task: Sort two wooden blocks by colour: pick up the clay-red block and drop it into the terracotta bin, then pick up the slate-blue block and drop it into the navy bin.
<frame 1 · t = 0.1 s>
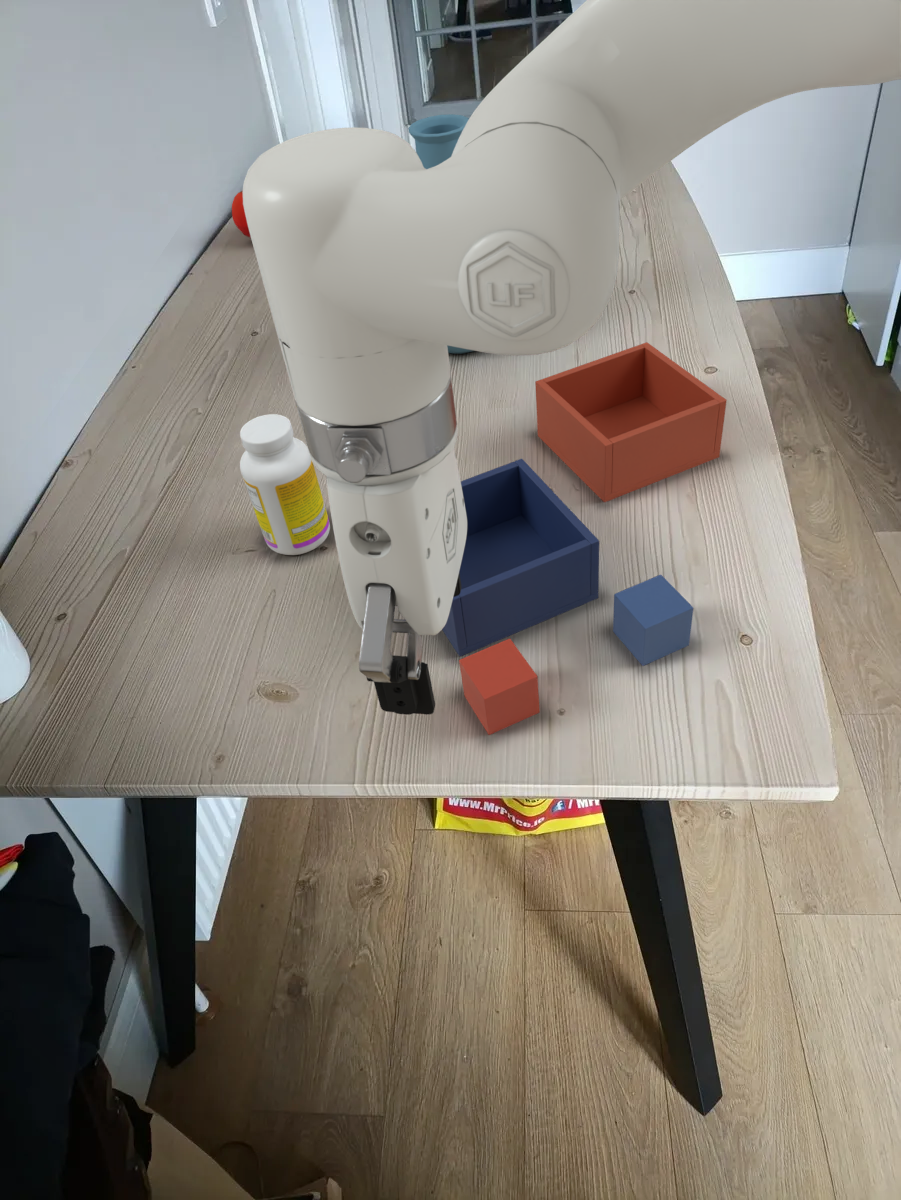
hand: (424, 647, 55), 15 cm above the table, tool pointing down, fingers open, 9 cm apart
red bin: (625, 446, 92), on the table
blue bin: (495, 580, 80), on the table
mug: (550, 174, 149), on the table
tomato: (270, 237, 143), on the table
red block: (501, 704, 70), on the table
vase: (462, 335, 113), on the table
blue block: (650, 638, 73), on the table
supplement bottle: (299, 537, 88), on the table
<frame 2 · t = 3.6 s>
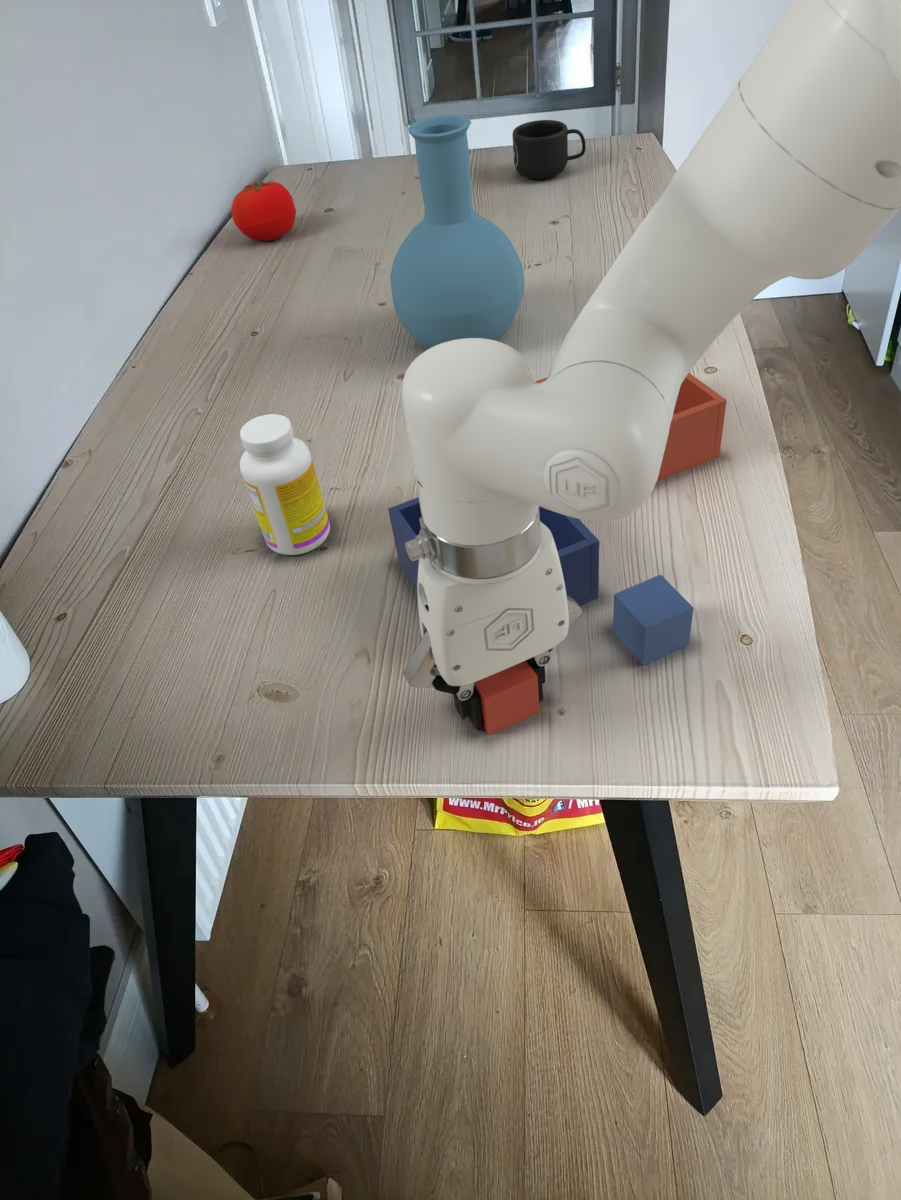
hand: (501, 701, 70), 0 cm above the table, tool pointing down, fingers closed on red block, 4 cm apart
red block: (501, 704, 70), on the table, touching gripper
everything else where it was.
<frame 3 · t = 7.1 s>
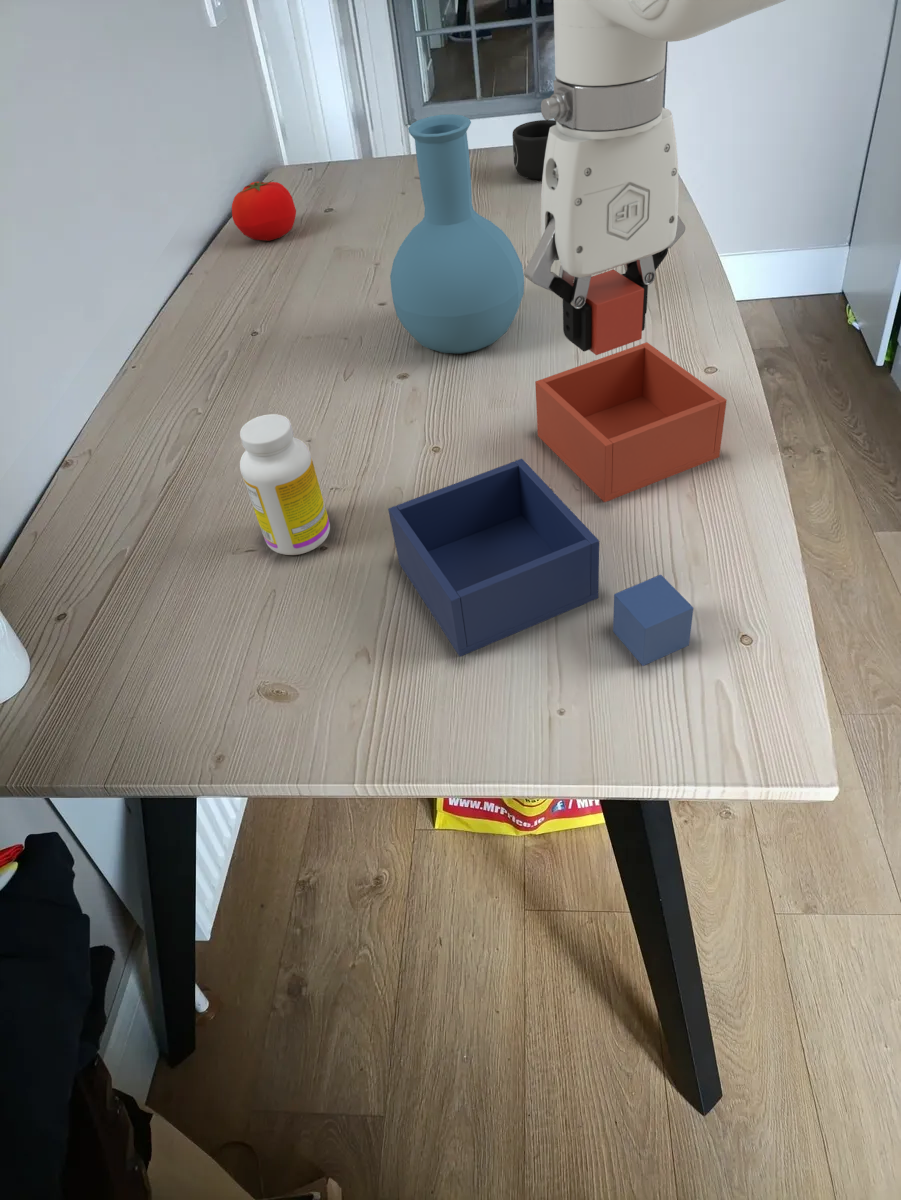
hand: (604, 332, 75), 18 cm above the table, tool pointing down, fingers closed on red block, 4 cm apart
red block: (604, 336, 75), point 17 cm above the table, touching gripper
everything else where it was.
when the fingers open (4 cm above the table, at t = 10.9 s): red block drops 3 cm, resting on red bin.
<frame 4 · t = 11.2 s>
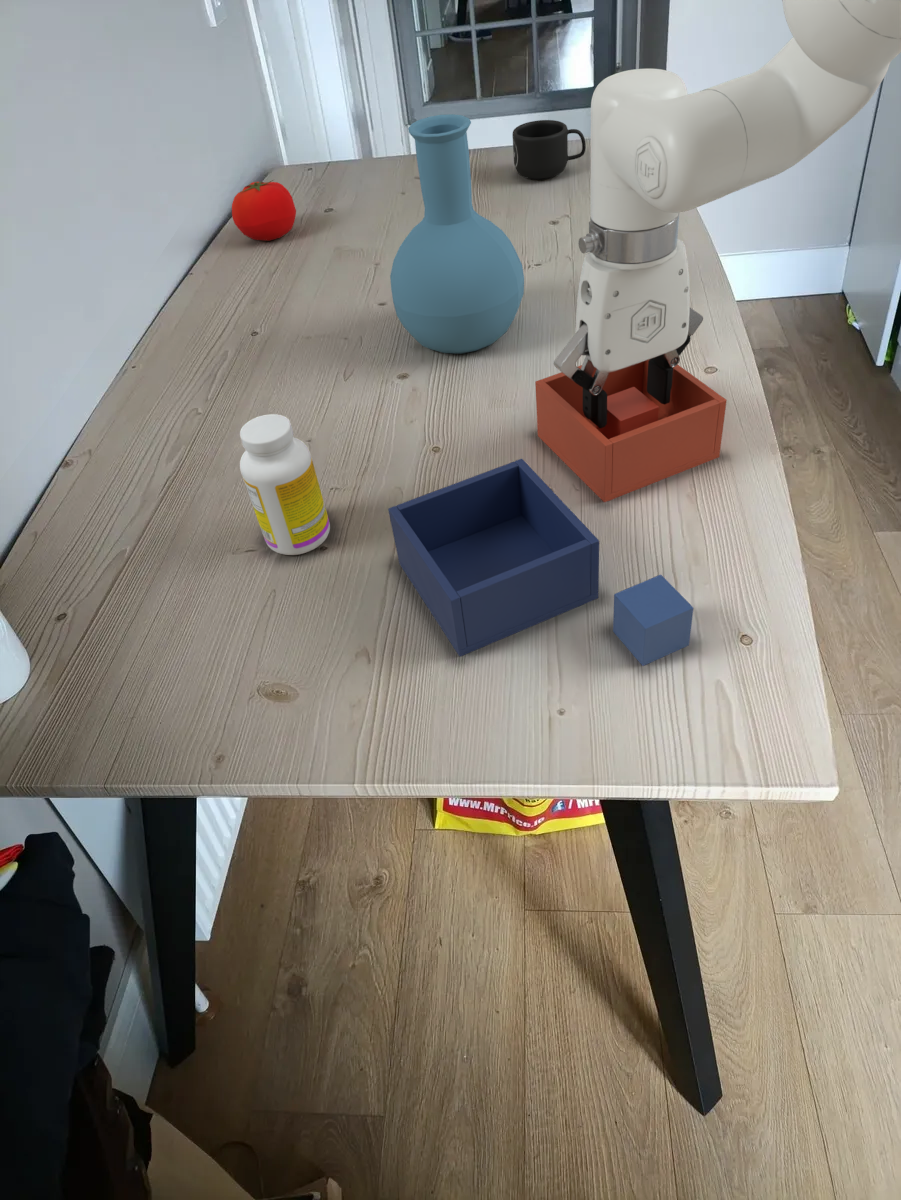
hand: (627, 408, 89), 5 cm above the table, tool pointing down, fingers open, 6 cm apart
red block: (625, 440, 92), point 1 cm above the table, touching red bin
everything else where it was.
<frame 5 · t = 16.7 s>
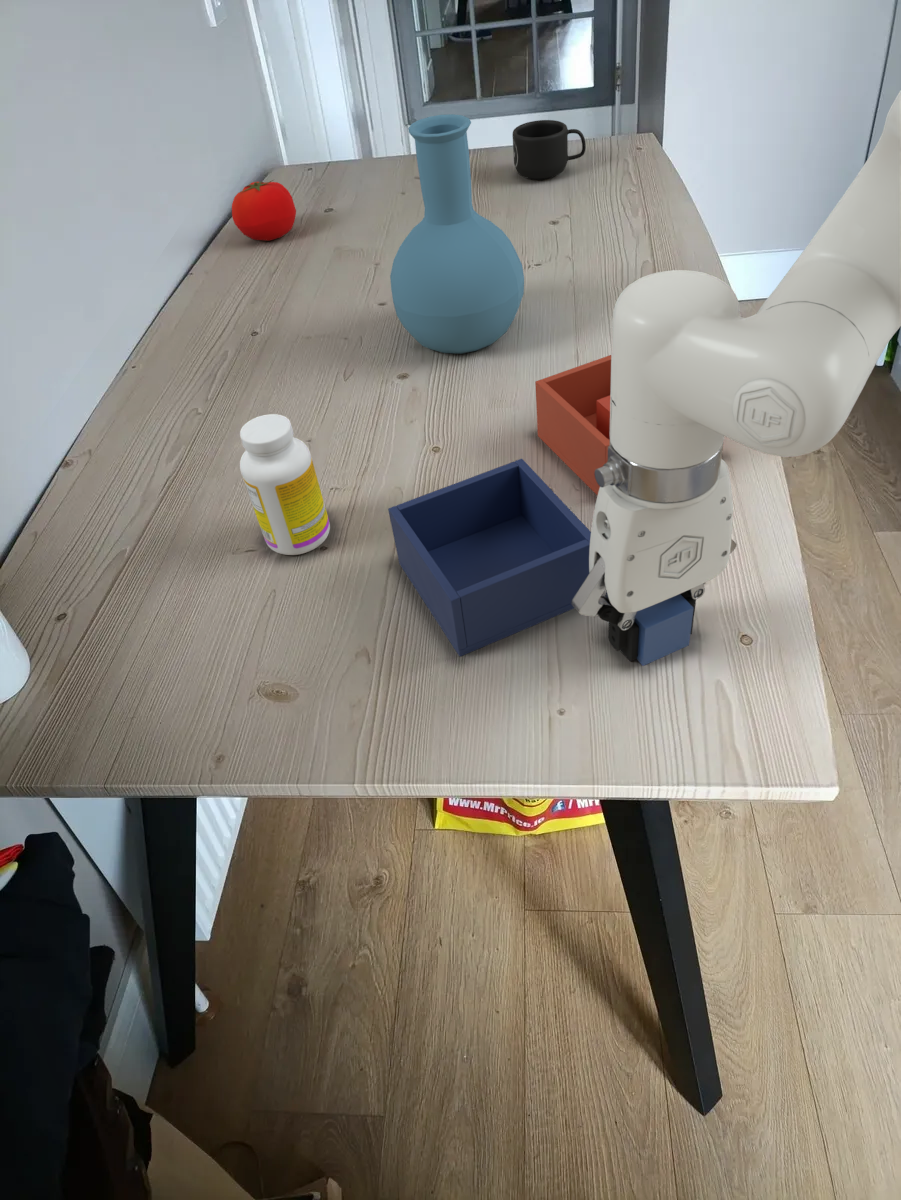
hand: (650, 635, 73), 0 cm above the table, tool pointing down, fingers closed on blue block, 4 cm apart
blue block: (650, 638, 73), on the table, touching gripper
everything else where it was.
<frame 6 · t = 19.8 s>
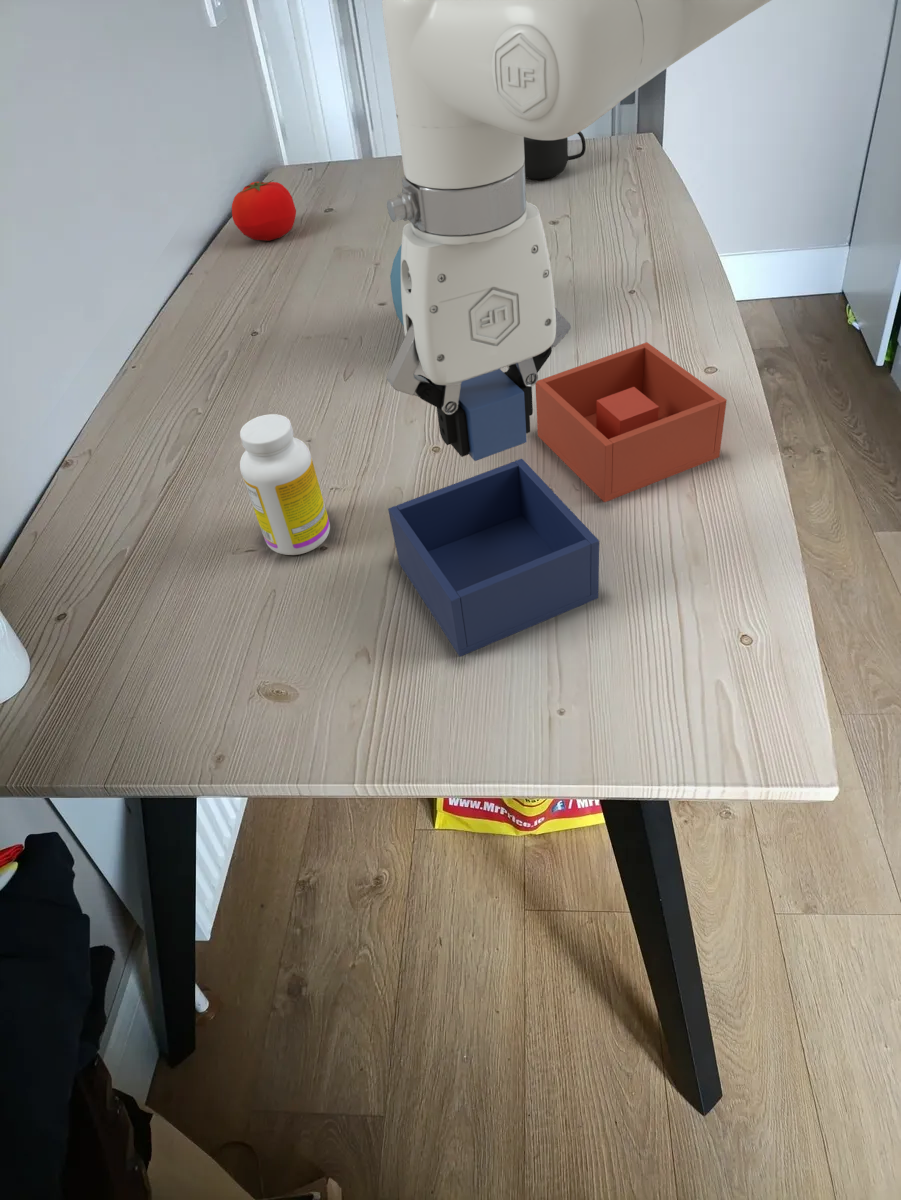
hand: (487, 434, 69), 16 cm above the table, tool pointing down, fingers closed on blue block, 4 cm apart
blue block: (487, 437, 69), point 16 cm above the table, touching gripper
everything else where it was.
when the fingers open (4 cm above the table, at t = 22.8 s): blue block drops 3 cm, resting on blue bin.
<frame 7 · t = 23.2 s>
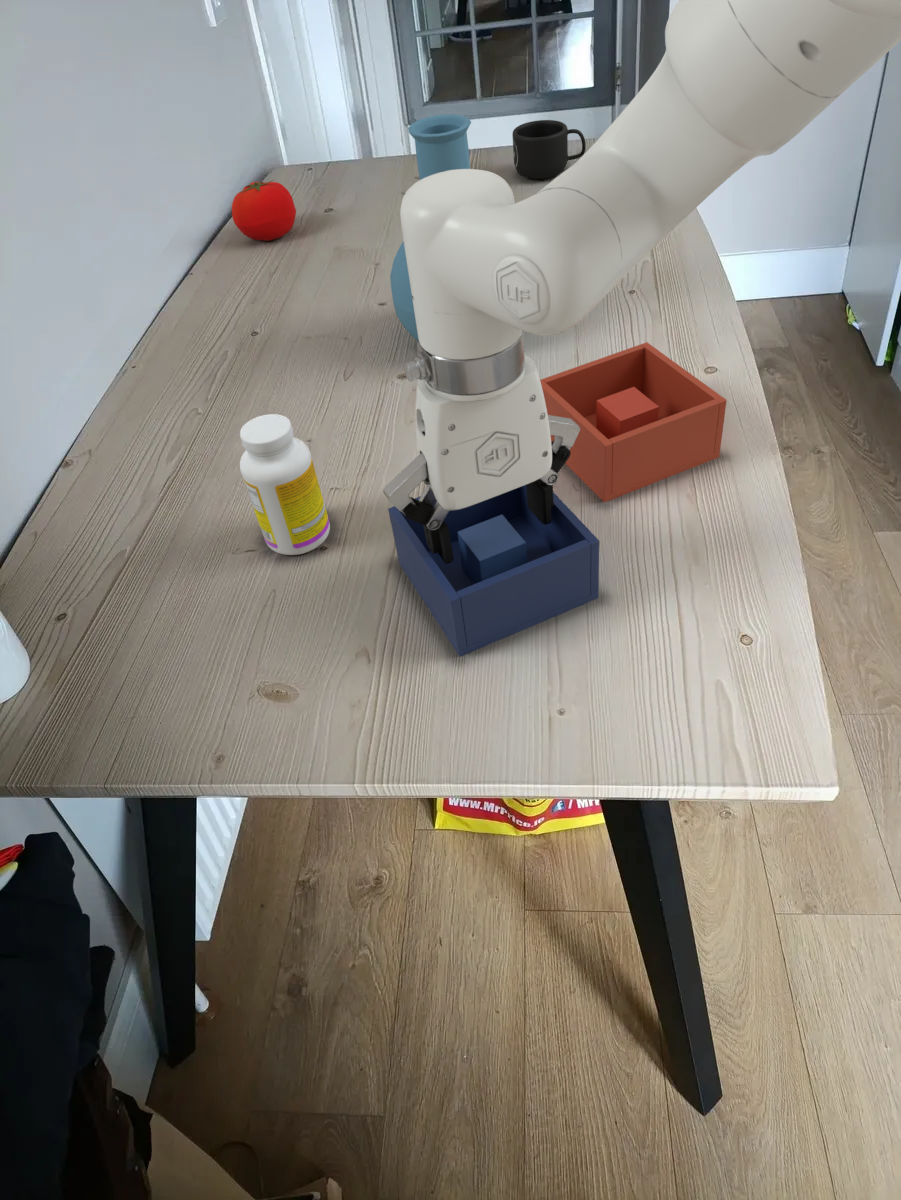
hand: (491, 534, 76), 6 cm above the table, tool pointing down, fingers open, 9 cm apart
blue block: (494, 574, 80), point 1 cm above the table, touching blue bin
everything else where it was.
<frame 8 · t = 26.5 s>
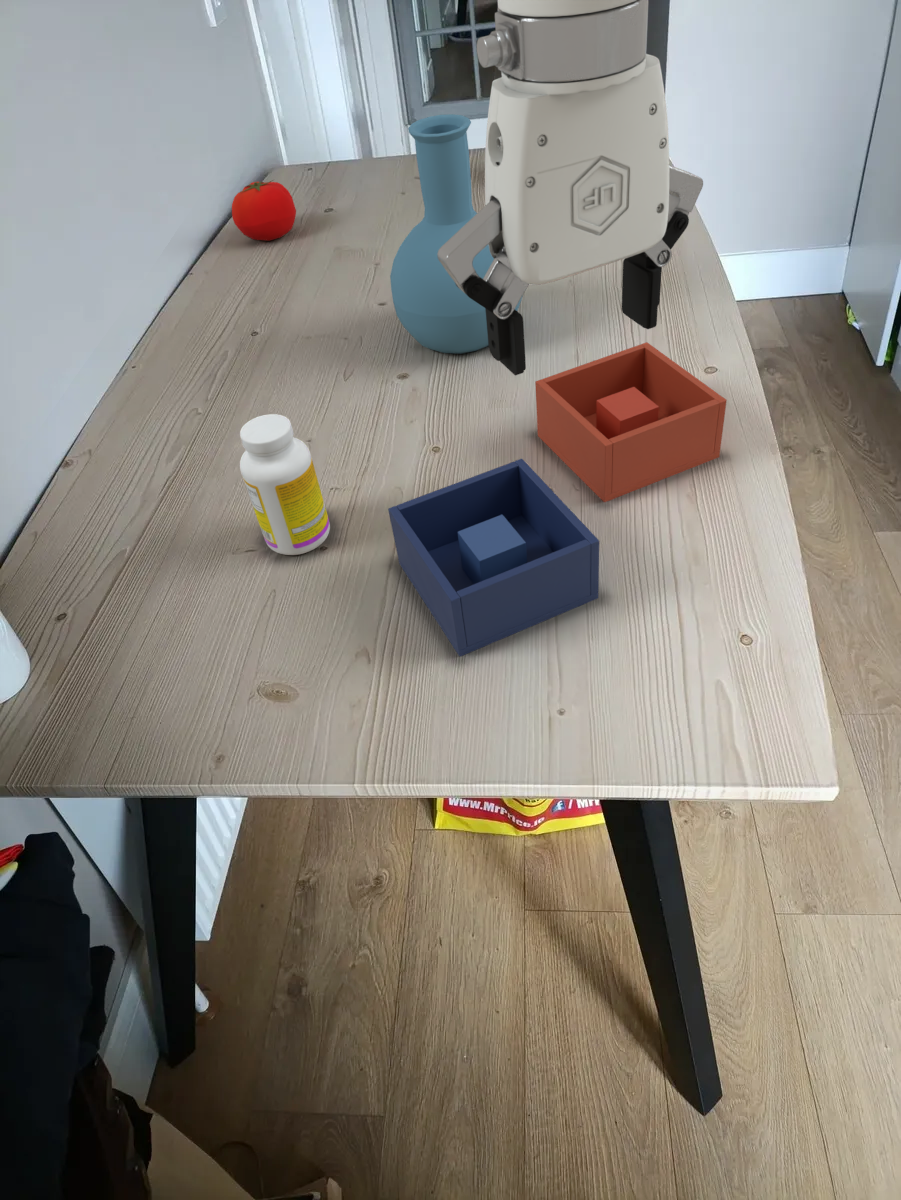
hand: (575, 342, 57), 26 cm above the table, tool pointing down, fingers open, 9 cm apart
nothing on the table moved.
at the end: red block inside the target area in the red bin (0.0 cm from its centre), point 0.8 cm above the red bin's base; blue block inside the target area in the blue bin (0.0 cm from its centre), point 0.8 cm above the blue bin's base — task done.
